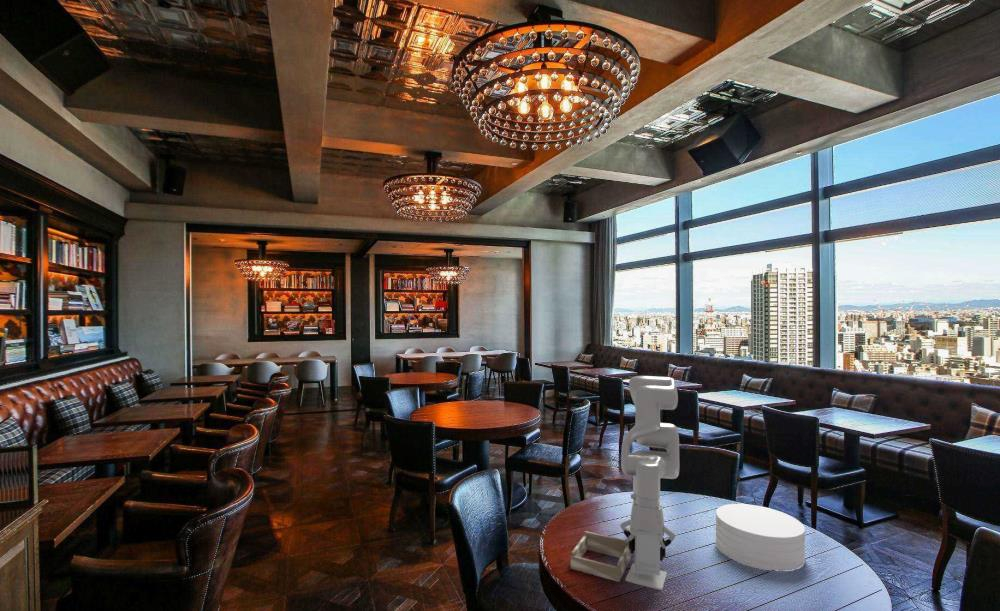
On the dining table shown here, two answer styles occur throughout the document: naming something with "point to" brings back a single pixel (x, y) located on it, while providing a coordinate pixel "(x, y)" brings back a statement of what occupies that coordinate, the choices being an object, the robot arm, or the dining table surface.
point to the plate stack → (760, 537)
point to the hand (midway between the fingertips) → (646, 555)
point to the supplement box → (647, 553)
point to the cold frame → (606, 547)
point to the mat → (646, 578)
